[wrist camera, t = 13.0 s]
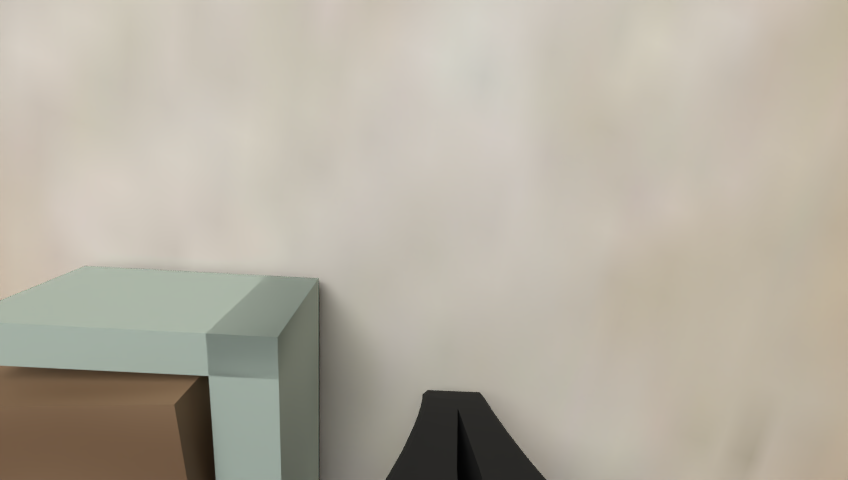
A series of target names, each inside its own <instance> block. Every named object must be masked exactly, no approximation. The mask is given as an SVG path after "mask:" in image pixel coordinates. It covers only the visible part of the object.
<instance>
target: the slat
mask: <svg viewBox="0 0 848 480" xmlns="http://www.w3.org/2000/svg"><path fill="white" fill-rule="evenodd" d="M0 480H216V476H215V461H214V447H213V432H212V418H211V403H210V388H209V376H197V375H178V374H158V373H138V372H118V371H98V370H78V369H58V368H38V367H19V366H0Z"/></svg>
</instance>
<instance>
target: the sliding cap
mask: <svg viewBox="0 0 848 480" xmlns="http://www.w3.org/2000/svg"><path fill="white" fill-rule="evenodd" d="M0 366H19V367H38V368H58V369H78V370H98V371H118V372H138V373H158V374H178V375H197V376H209V388H210V403H211V418H212V432H213V447H214V461H215V476H216V480H319V278H300V277H281V276H263V275H244V274H225V273H207V272H188V271H169V270H151V269H132V268H114V267H95V266H84V267H81V268H79V269H76V270H74V271H71V272H69V273H67V274H64V275H62V276H59V277H57V278H54V279H52V280H49V281H47V282H44V283H42V284H40V285H37V286H35V287H32V288H30V289H27V290H25V291H22V292H20V293H17V294H15V295H12V296H10V297H8V298H5V299H3V300H0Z"/></svg>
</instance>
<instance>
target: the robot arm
mask: <svg viewBox="0 0 848 480" xmlns="http://www.w3.org/2000/svg"><path fill="white" fill-rule="evenodd" d="M386 480H546V479H545V478H544V477H543V475H542V474H541V473H540V472H539V471H538V470H537V469H536V467H535V466H534V465H533V464H532V463H531V461H530V460H529V459H528V458H527V457H526V455H525V454H524V453H523V452H522V450H521V449H520V448H519V446H518V445H517V444H516V443H515V441H514V440H513V439H512V437H511V436H510V435H509V433H508V432H507V431H506V429H505V428H504V427H503V425H502V424H501V422H500V421H499V419H498V418H497V417H496V415H495V414H494V412H493V411H492V409H491V408H490V406H489V405H488V403H487V402H486V400H485V398H484V397H483V396H482V395H481V394H480V392H457V391H434V390H427V391H426V392H425V393H424V394H423V397H422V404H421V408H420V411H419V414H418V417H417V419H416V422H415V425H414V427H413V429H412V431H411V433H410V436H409V438H408V440H407V442H406V444H405V446H404V448H403V450H402V452H401V454H400V456H399V457H398V459H397V461H396V463H395V465H394V466H393V468H392V470H391V472H390V473H389V475H388V477H387V478H386Z"/></svg>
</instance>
